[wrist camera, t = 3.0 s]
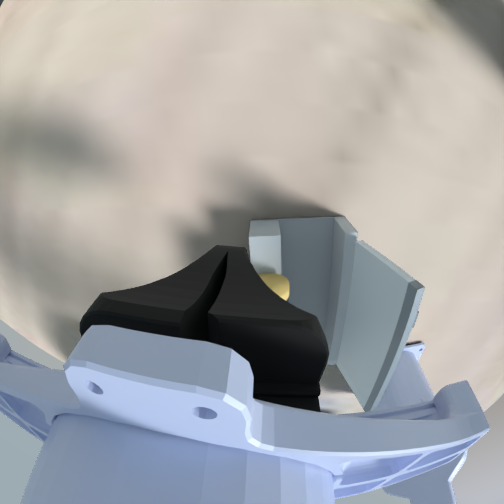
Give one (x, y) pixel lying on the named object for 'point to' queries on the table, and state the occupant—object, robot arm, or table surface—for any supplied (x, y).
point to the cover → (376, 323)
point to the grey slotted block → (310, 266)
